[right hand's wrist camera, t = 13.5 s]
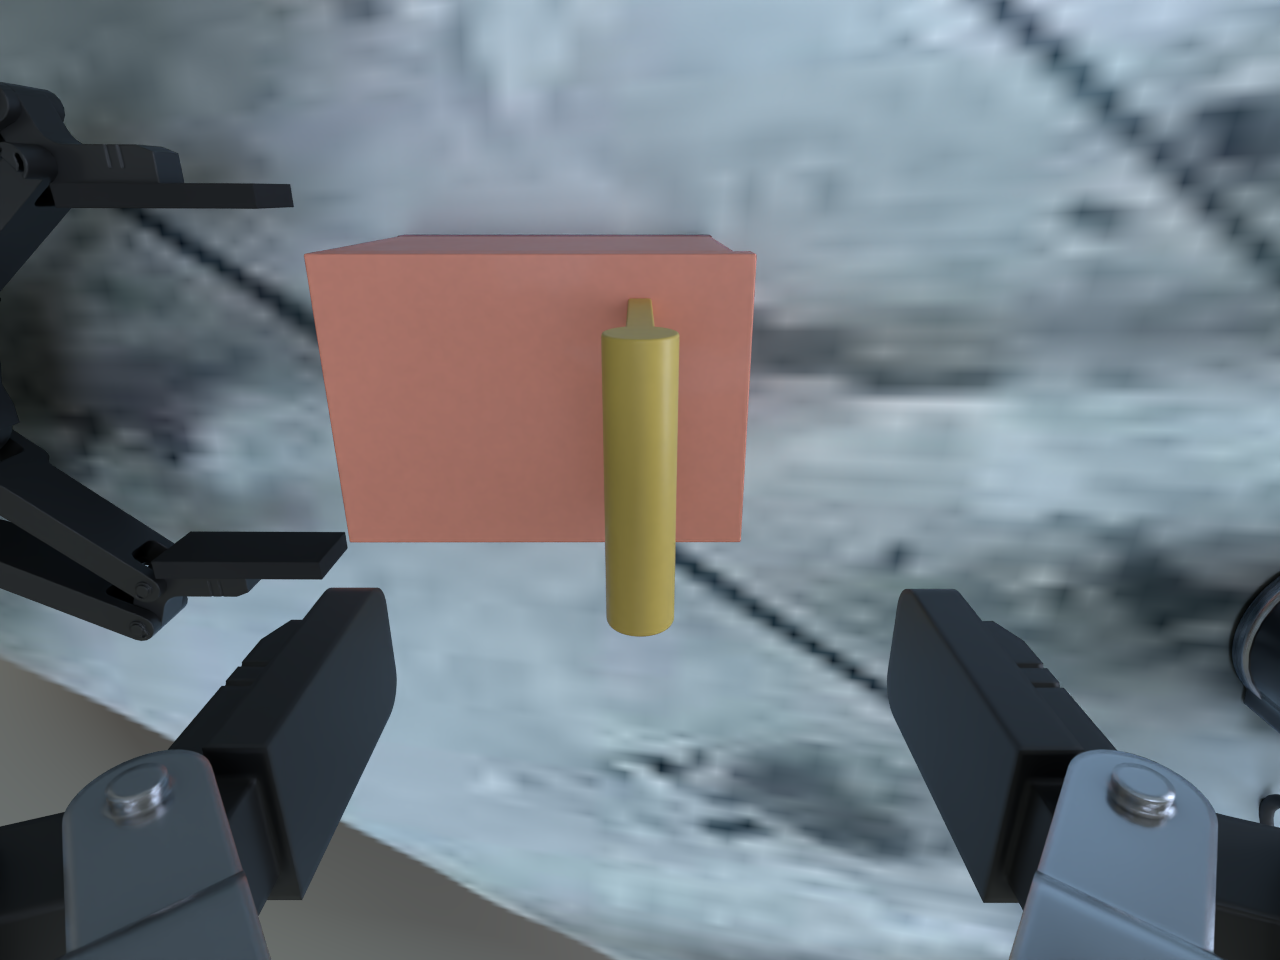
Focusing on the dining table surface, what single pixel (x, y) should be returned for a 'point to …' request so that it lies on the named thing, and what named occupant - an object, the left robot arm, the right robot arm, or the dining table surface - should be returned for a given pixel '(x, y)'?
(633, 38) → the dining table surface
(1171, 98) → the dining table surface
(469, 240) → the chest
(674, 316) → the block with yellow handle
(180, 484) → the dining table surface
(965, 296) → the dining table surface
